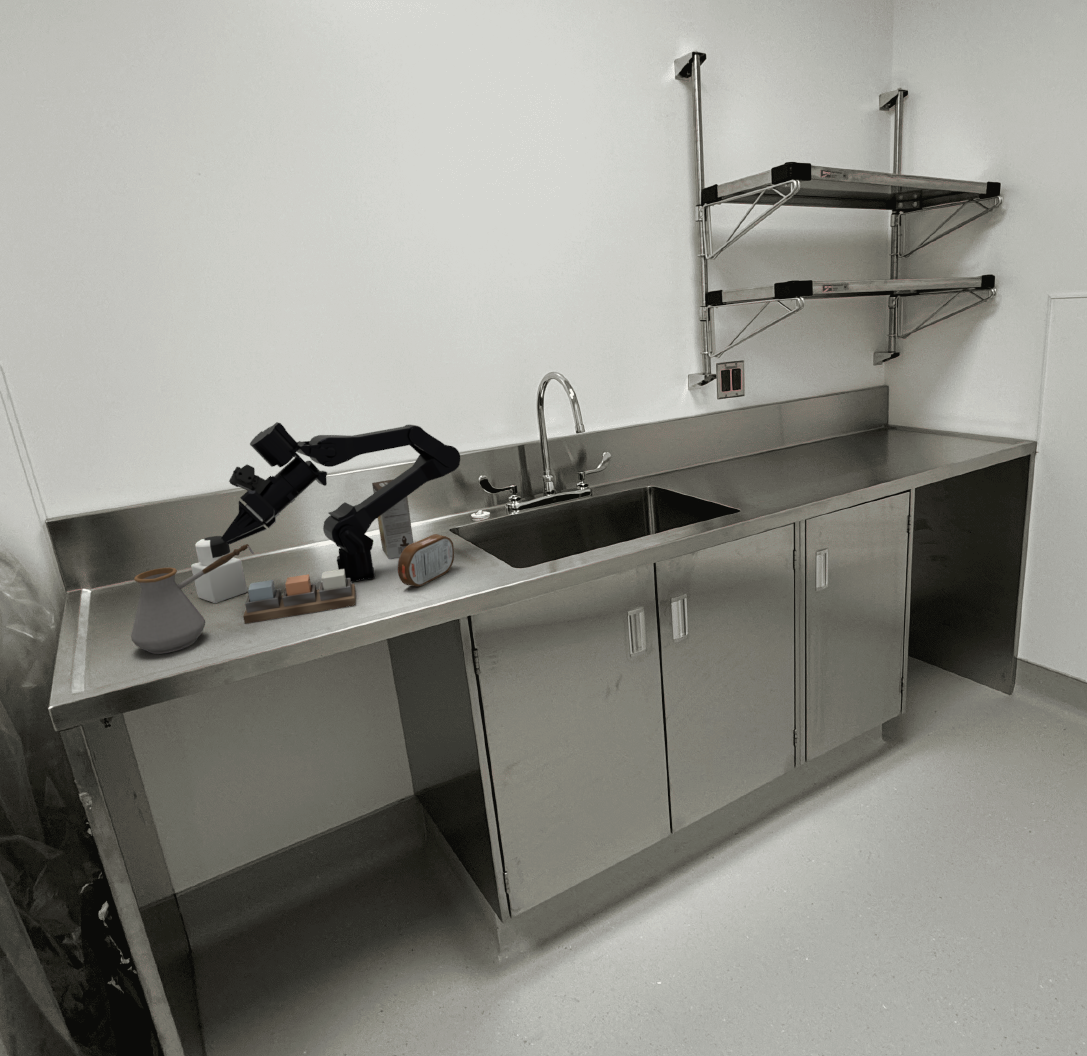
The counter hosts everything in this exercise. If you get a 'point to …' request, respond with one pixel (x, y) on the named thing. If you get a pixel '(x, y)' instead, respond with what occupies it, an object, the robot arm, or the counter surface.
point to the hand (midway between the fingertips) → (225, 541)
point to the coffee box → (394, 526)
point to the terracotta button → (298, 585)
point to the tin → (426, 560)
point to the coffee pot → (169, 609)
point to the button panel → (300, 603)
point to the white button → (334, 579)
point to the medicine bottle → (217, 571)
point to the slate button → (262, 590)
